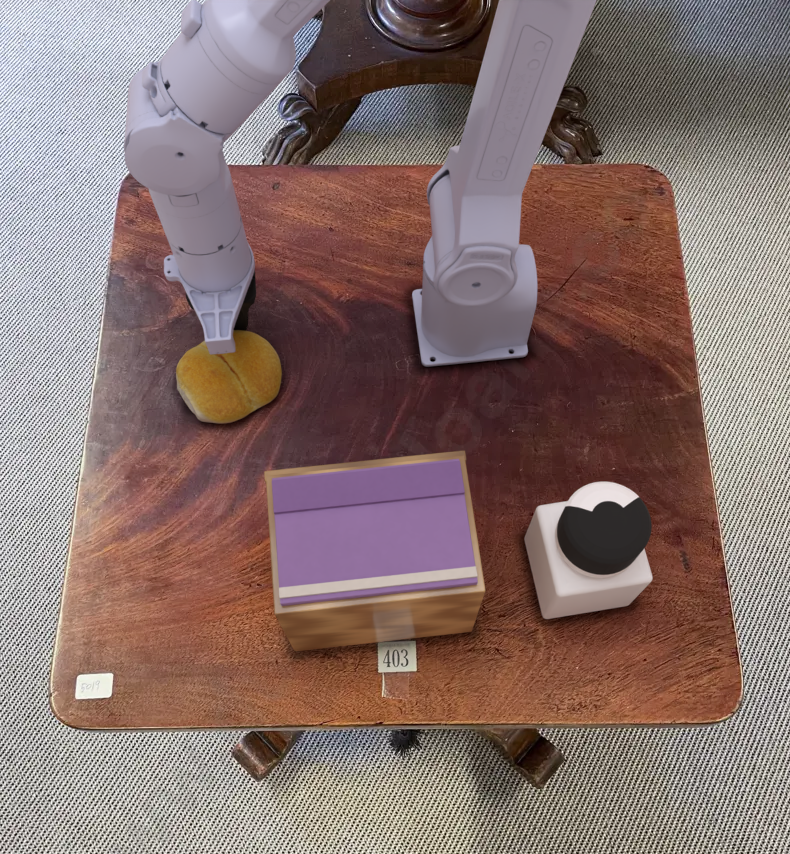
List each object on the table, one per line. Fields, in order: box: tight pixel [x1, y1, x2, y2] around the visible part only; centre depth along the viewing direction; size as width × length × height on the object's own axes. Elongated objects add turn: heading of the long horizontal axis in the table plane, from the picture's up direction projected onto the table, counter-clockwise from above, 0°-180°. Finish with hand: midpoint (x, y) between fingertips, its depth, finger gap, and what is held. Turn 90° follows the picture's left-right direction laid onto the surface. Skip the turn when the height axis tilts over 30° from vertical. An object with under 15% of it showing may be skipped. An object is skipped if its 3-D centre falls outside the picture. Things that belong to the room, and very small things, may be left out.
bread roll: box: [175, 330, 283, 425], centre depth 74 cm, size 8×9×4 cm
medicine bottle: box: [524, 481, 654, 620], centre depth 64 cm, size 7×7×12 cm
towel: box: [272, 459, 478, 606], centre depth 58 cm, size 13×9×1 cm
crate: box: [263, 450, 486, 652], centre depth 64 cm, size 14×10×12 cm
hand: (235, 327), depth 76 cm, fingers closed
